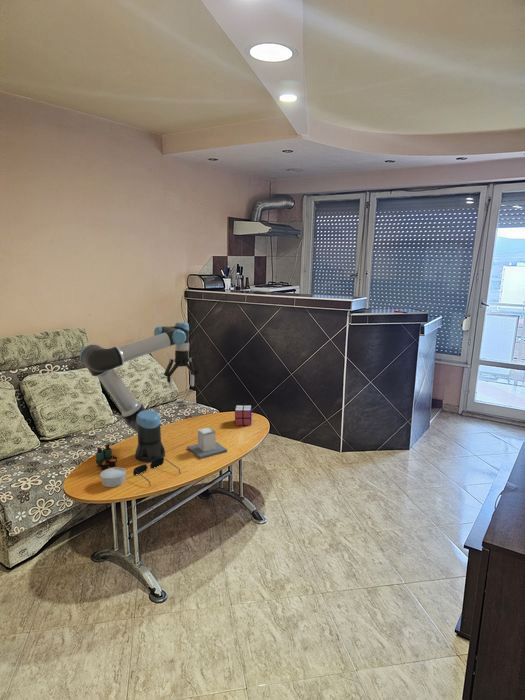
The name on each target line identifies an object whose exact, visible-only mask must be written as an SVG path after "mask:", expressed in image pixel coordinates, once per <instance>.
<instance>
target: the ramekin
mask: <svg viewBox="0 0 525 700" xmlns="http://www.w3.org/2000/svg"><path fill="white" fill-rule="evenodd" d="M126 474H127V470H126V468H122V467H118V466H115V467H108V469H106V470H101V472H100V474H99V478H100V479H101V483H102V485H103V486H104V487H105V486H106V487H105V488H108V487H113V488H116V487H115V486H118V487H120V486H122V485H123V484H124V483H125V480H126ZM123 482H124V483H123ZM122 483H123V484H122ZM121 484H122V485H121ZM119 485H120V486H119Z"/></svg>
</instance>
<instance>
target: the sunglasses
mask: <svg viewBox="0 0 525 700" xmlns="http://www.w3.org/2000/svg"><path fill="white" fill-rule="evenodd" d="M164 461H167V462H168V463H170V465H171V466H173V467H175V468H176V469H178V472H179V474H181V469H180V468H179V467H178V466H176V464H175V465H174V464H173V463H172V462H170V461H169V460H168V459H166V458H164V457H163V458H160V459H159V458H158V459H157V460H155V461H152V462H150V464H148V465H147V464H146V463H145V464H141V465H138V466H136V467H135V468H133V471H132V472H133V475H134V476H137V475H136V474H138V475H140V476H141V477H142V478H144V479H145V480H146V481H147V482H148V484H149V487H150V486H152V485H151V482H150V480H149V479H148V478H146V477H145V476H144V475H143V474H142V473H141V472H143V471H145V472H146V471H147V470H149V469H151V468H153V469H155V468H154V467H156V468H158V467H157V466H159V465H161V466H162V465H163V464H164ZM149 467H150V468H149ZM159 467H160V466H159ZM140 473H141V474H140ZM143 473H144V472H143Z"/></svg>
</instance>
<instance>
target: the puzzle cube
mask: <svg viewBox="0 0 525 700" xmlns="http://www.w3.org/2000/svg"><path fill="white" fill-rule="evenodd" d="M252 407H253V406H252V405H236V406H235V409H234V425H235V426H236V425H251V426H252V419H253V415H252V412H253V411H252V410H253V409H252Z"/></svg>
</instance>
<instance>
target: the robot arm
mask: <svg viewBox="0 0 525 700" xmlns="http://www.w3.org/2000/svg"><path fill="white" fill-rule="evenodd" d="M189 341H190V325H189V323H188V322H181V321H180V322H178V321H177V322H175V325H174V326H162V325H161V326H156V327H154V330H153V336H149V337H147V338H144V339H140V340H138V341H135V342H132V343H129V344H127V345H123V346H120V347H117V346H113V347H110V348H103V347H101V346H100V345H98V344H89V345H85V347H83V348H82V349H81V351H80V354H79V360H80V363H81V364H82V365H83V366H85V367H86V369H87V370H88V371H89V372H90V374H91V375H92V376H93V377H97V378H98V379H99V382H101V384H102V385H103V386H104V388H105V389H106V391H107V392H108V393H109V395H110V396H111V397H112V399H113V400H114V401H115V402H116V404H117V405H118V407H119V409H120V410H121V416H122V417H123V419H124V421H125V423H126V425H127V426H128V427H129V428H131V429H133V431H135V432H136V433H137V447H136V449H135V460H136V461H138V462H142V463H151V462H152V461H155V460H157V459H158V458H159V459H160V458H164V457H166V450H165V447H164V444H163V442H162V430H161V428H162V427H161V421H162V420H161V416H160V414H159V412H157V411H156V410H151V409H146V408H145V406H144V405H143V404H142V402H141V401H138V400H136V398H134V396H133V394H132V393H131V392H130V390H129V389H128V387H127V386H126V384H125V382H123V380H122V379H121V377H120V375H118V373H117V372H116V370H115V369H116V368H118V367H122V366H124V363H126V362H127V363H128V362H130V361H132V360H135V359H138V358H140V357H142V356H146V355H149V354H152V353H154V352H158V351H159V350H162V349H165V348H169V347H172V346H174V345H175V346H174V349H175V350H174V359H173V358H169V362H168V364H167V367H166V368H165V371H164V373H163V375H164V376H165V377H166V382H167V383H168V388H169V389H173V388H172V385H173V383H172V382H173V380H172V379H173V377H172V376H173V374H174V372H175V371H176V369H178V368H181V367H186V368H187V369H188V370H189V371H190V373H192V374H190V386H191V387H195V381H196V380H197V379H196V378H197V374H200V372H199V370H198V367H197V365H196V363H195V359H194V358H193V357H190V358H189V355H190V354H189V353H190V352H189V348H190V345H189V344H190V342H189ZM189 362H190V364H191V366H190V364H189ZM174 363H175V364H174ZM173 364H174V365H173Z"/></svg>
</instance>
